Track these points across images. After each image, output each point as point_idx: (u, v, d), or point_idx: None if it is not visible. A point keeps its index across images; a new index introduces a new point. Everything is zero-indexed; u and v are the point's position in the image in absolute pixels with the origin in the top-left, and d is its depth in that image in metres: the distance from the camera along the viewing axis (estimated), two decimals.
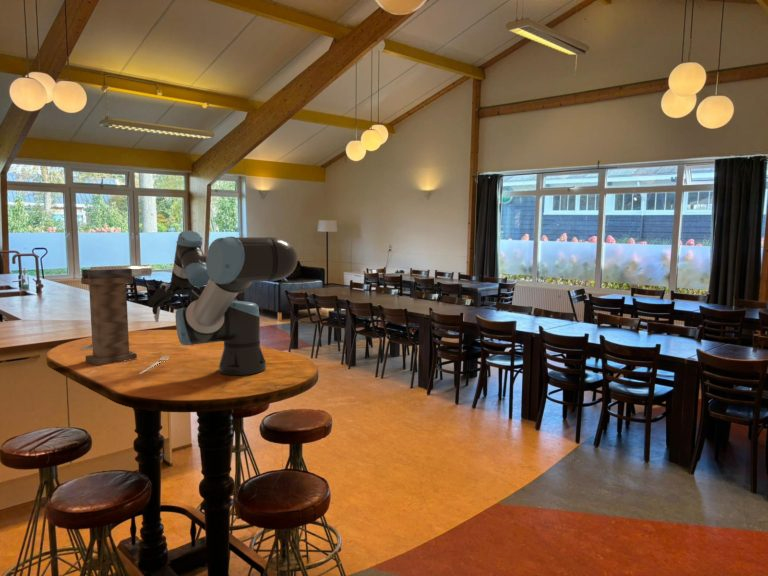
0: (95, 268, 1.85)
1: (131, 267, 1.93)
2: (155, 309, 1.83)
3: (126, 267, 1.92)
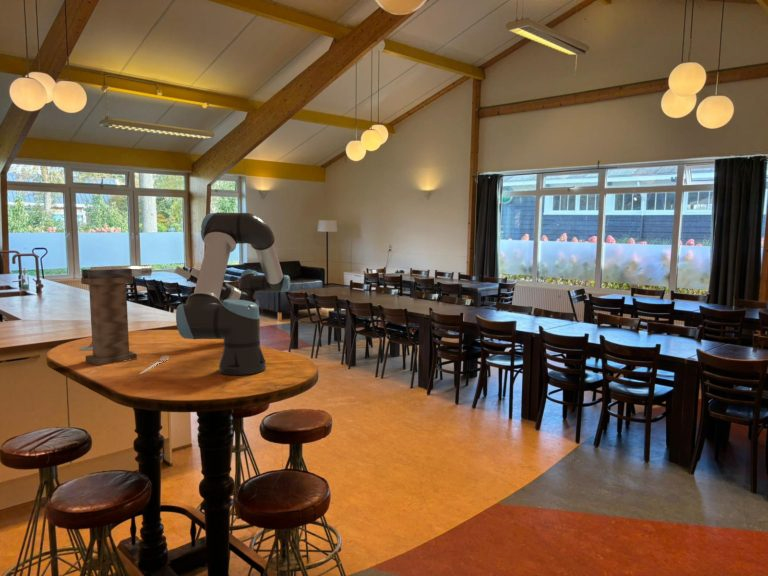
0: (95, 268, 1.85)
1: (131, 267, 1.93)
2: None
3: (126, 267, 1.92)
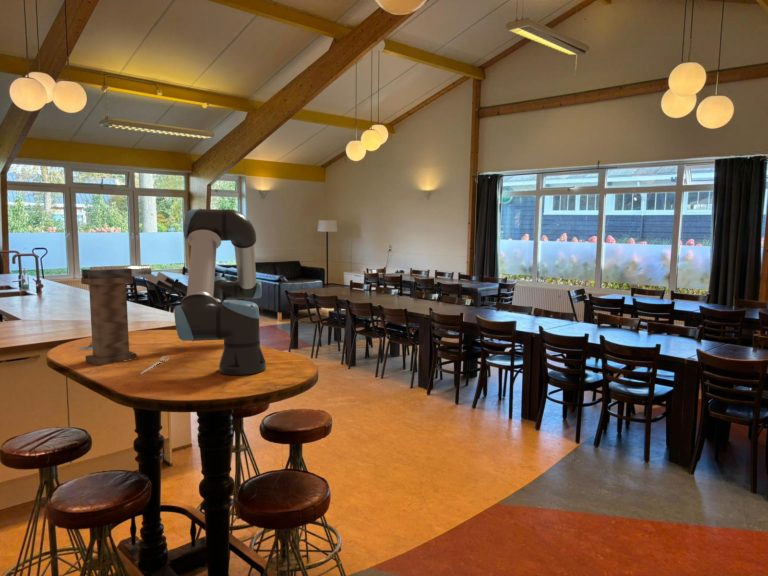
0: (94, 267, 1.85)
1: (130, 266, 1.94)
2: (155, 278, 2.10)
3: (125, 266, 1.93)
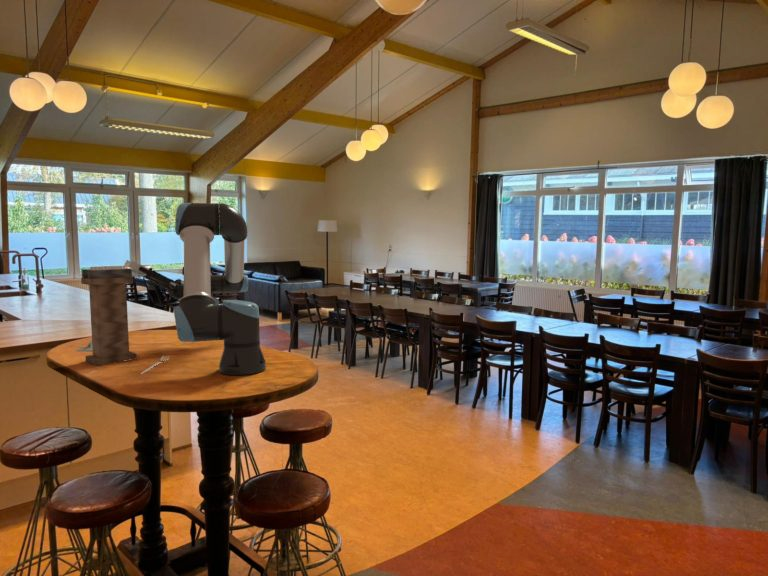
0: (95, 268, 1.85)
1: None
2: None
3: (126, 267, 1.92)
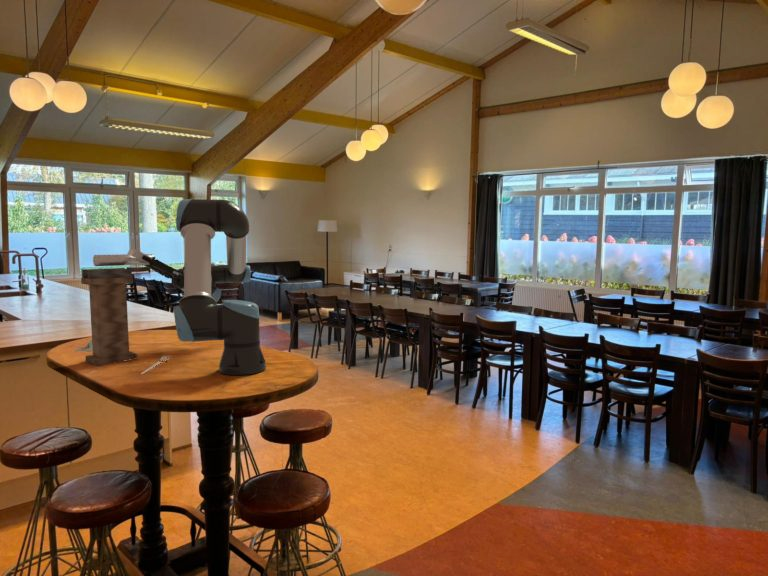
0: (98, 256, 1.86)
1: None
2: None
3: (129, 256, 1.93)
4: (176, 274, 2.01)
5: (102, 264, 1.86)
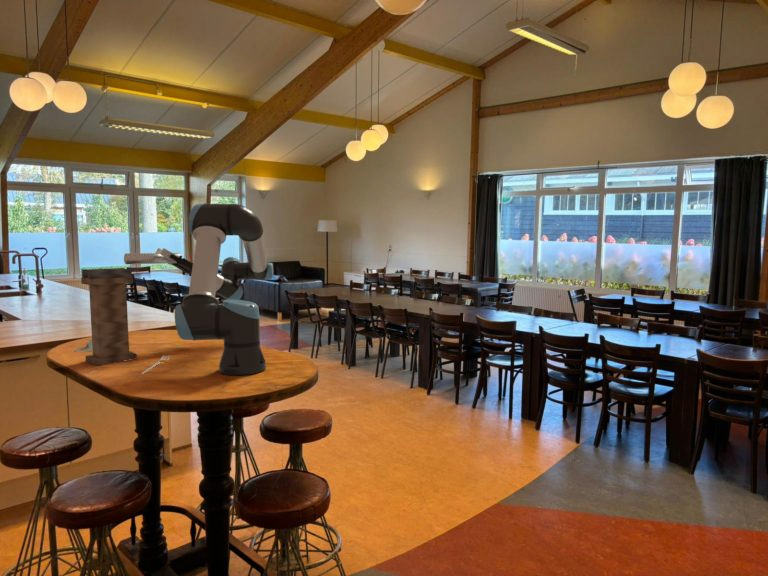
0: (129, 255, 1.93)
1: None
2: None
3: (158, 254, 2.01)
4: None
5: (133, 262, 1.94)
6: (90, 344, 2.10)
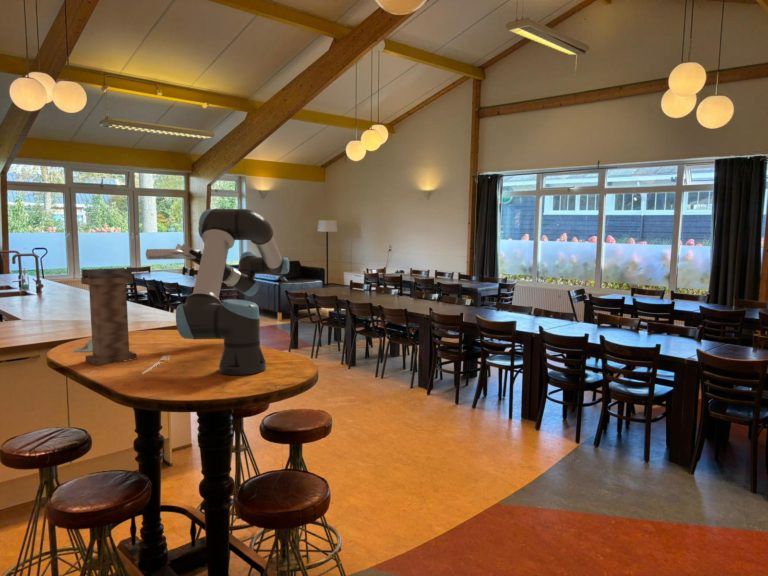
0: (151, 250, 2.00)
1: None
2: None
3: (178, 250, 2.07)
4: None
5: (154, 258, 2.01)
6: (89, 344, 2.09)
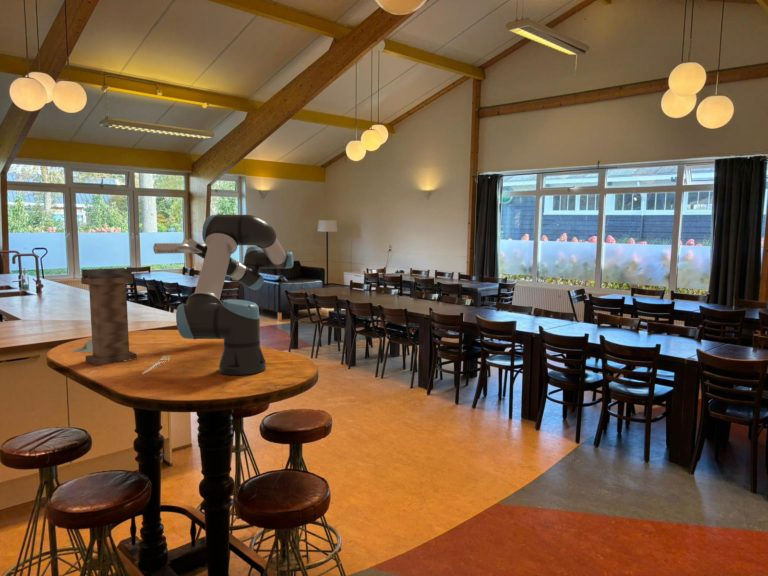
0: (159, 244, 2.04)
1: None
2: None
3: (185, 244, 2.11)
4: None
5: (162, 252, 2.05)
6: (88, 345, 2.09)
